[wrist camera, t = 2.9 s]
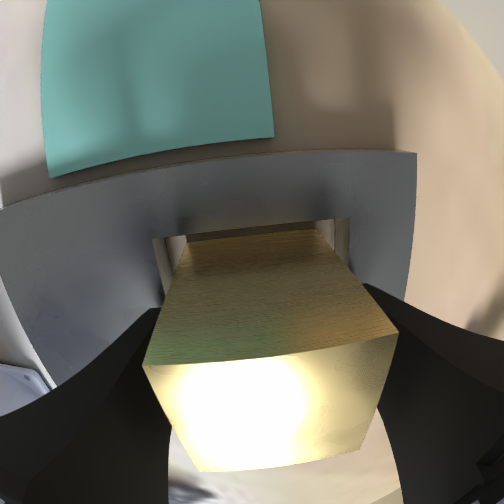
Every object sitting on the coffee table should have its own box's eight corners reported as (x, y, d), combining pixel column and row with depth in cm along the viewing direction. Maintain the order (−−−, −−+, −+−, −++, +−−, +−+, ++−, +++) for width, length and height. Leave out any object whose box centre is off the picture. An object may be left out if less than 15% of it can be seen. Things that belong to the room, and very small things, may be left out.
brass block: (207, 342, 12) (199, 471, 6) (186, 242, 10) (141, 365, 4) (313, 330, 12) (359, 449, 6) (314, 228, 10) (399, 332, 4)
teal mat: (54, 177, 8) (49, 178, 8) (52, 0, 5) (47, -3, 5) (272, 137, 9) (274, 137, 8) (249, -51, 6) (250, -57, 5)
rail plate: (75, 383, 12) (67, 400, 11) (2, 207, 9) (-18, 216, 7) (373, 361, 13) (383, 380, 11) (395, 149, 9) (416, 153, 8)
